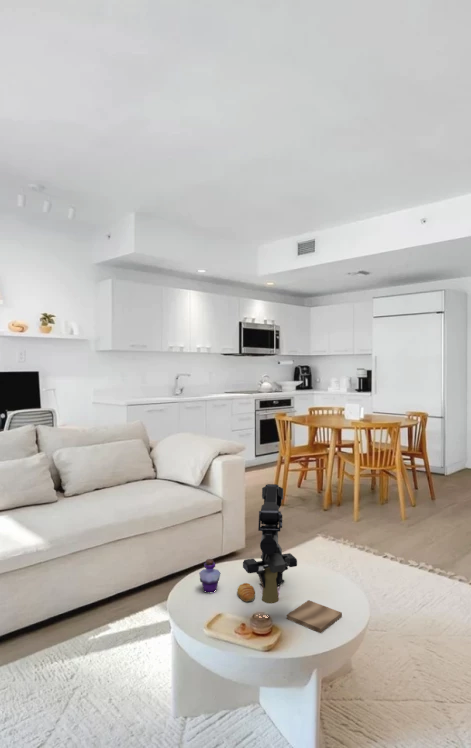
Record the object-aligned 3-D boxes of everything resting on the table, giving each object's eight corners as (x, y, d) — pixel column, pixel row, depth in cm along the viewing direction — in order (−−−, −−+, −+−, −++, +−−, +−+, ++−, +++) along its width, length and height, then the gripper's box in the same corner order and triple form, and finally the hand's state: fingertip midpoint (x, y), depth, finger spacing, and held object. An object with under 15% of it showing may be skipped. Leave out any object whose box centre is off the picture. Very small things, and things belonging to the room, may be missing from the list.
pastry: (258, 602, 189) (258, 592, 189) (240, 604, 188) (240, 594, 188) (252, 590, 199) (252, 581, 198) (235, 592, 197) (235, 583, 197)
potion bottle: (200, 584, 204) (200, 555, 203) (221, 585, 203) (221, 555, 203) (197, 594, 195) (197, 564, 195) (220, 595, 195) (219, 564, 194)
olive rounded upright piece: (260, 595, 180) (260, 565, 180) (277, 594, 181) (277, 564, 180) (262, 603, 174) (262, 572, 174) (280, 603, 175) (280, 572, 174)
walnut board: (286, 618, 177) (286, 614, 177) (308, 604, 187) (308, 600, 187) (320, 633, 168) (320, 628, 168) (341, 616, 178) (341, 612, 178)
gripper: (253, 555, 166) (253, 601, 167) (304, 548, 172) (304, 592, 173) (242, 543, 177) (242, 586, 177) (290, 537, 183) (290, 579, 183)
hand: (270, 586), depth 177 cm, fingers closed on olive rounded upright piece, 4 cm apart
